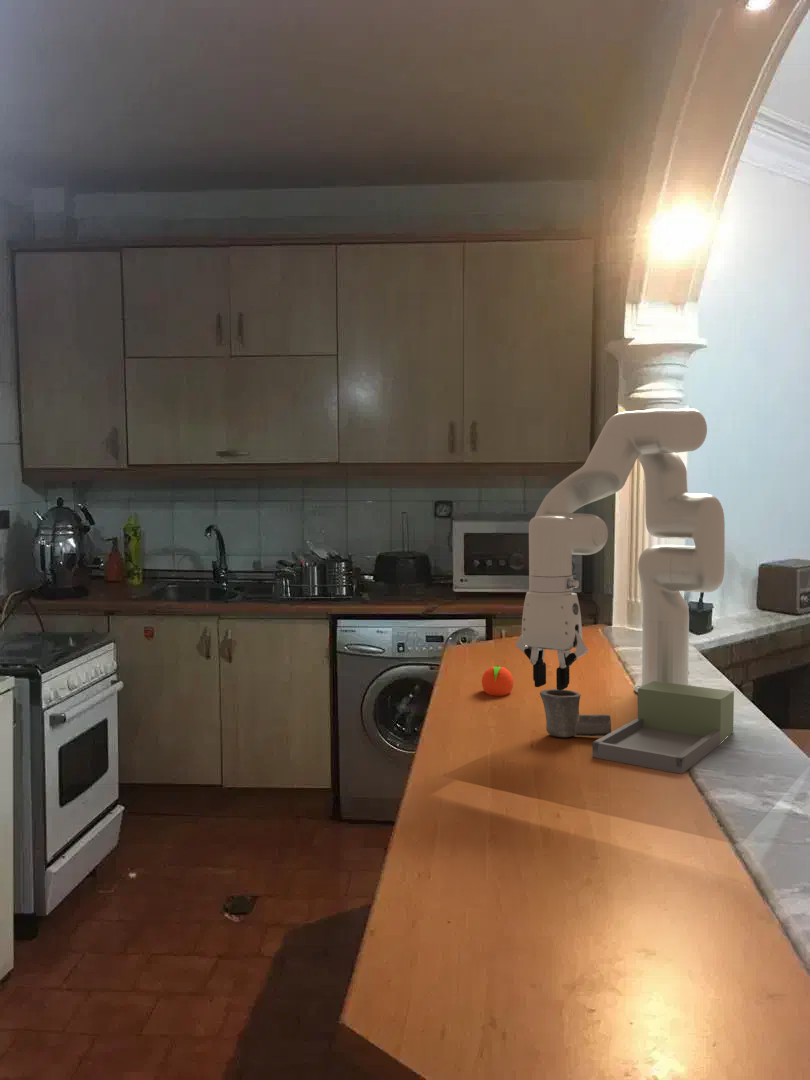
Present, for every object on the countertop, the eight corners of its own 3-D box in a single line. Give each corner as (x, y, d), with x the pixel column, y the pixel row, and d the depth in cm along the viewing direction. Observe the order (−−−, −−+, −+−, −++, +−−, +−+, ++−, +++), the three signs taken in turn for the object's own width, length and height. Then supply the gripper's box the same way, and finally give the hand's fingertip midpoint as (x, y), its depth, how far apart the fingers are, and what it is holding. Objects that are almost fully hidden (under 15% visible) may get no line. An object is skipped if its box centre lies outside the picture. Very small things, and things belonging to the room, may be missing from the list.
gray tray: (653, 722, 164) (653, 681, 164) (733, 734, 155) (733, 691, 155) (592, 757, 142) (592, 709, 141) (682, 774, 133) (682, 723, 133)
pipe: (611, 743, 150) (612, 699, 149) (538, 738, 153) (538, 695, 152) (610, 733, 156) (611, 690, 155) (540, 728, 159) (540, 686, 158)
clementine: (511, 703, 180) (512, 670, 180) (479, 701, 181) (479, 668, 181) (514, 695, 188) (514, 663, 187) (483, 693, 189) (483, 661, 189)
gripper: (603, 585, 149) (603, 689, 150) (519, 580, 159) (520, 677, 160) (585, 590, 143) (585, 697, 144) (499, 584, 153) (500, 685, 154)
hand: (551, 686), depth 152 cm, fingers open, 3 cm apart
